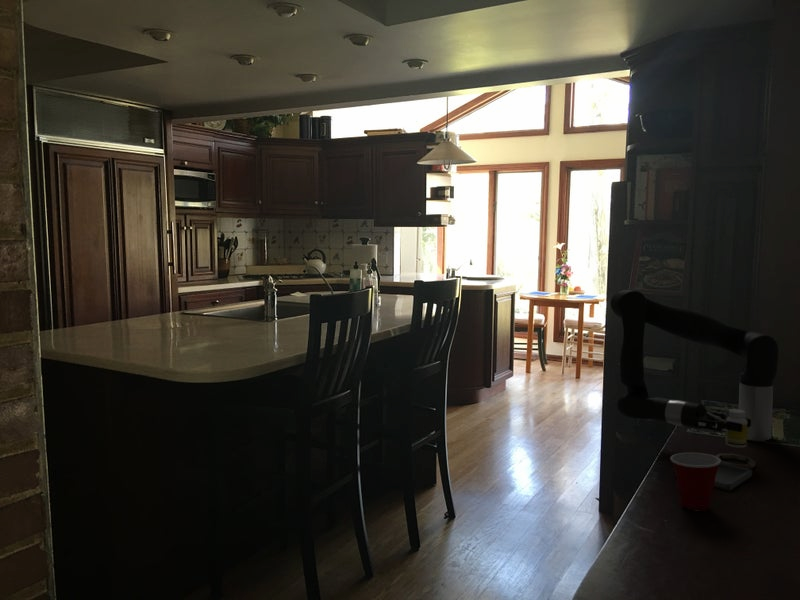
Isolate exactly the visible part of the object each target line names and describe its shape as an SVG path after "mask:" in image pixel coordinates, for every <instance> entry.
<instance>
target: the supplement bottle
mask: <svg viewBox="0 0 800 600" xmlns="http://www.w3.org/2000/svg"><path fill="white" fill-rule="evenodd" d="M728 412H729V416H730V417H727V418H726V421H727V422H728V421H730V422H735V423H741V424H742V425H743V430H742V431H741V432H738V431H732V430H724V431H725V433H724V434H725V435H724V436H725V437H724V443H725V445H727V446H729V447H732V448H737V449H738V448H746V447H747V445H748V444H747V443H748V440H747V425H748V423H747V420H746V419H745V418H744V417H745V411H743V410H740V409H739V408H730V409H728Z"/></svg>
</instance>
